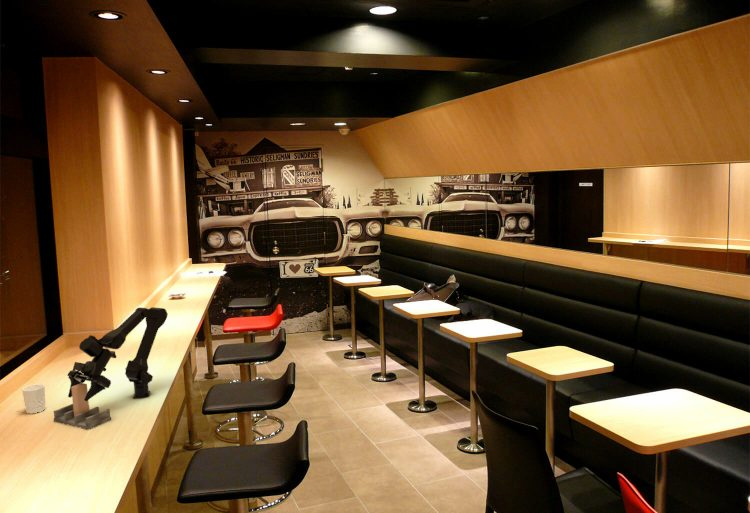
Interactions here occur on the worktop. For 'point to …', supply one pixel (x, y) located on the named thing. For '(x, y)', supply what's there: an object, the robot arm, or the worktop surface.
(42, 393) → the white cup
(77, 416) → the rack
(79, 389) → the clay bar
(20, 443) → the worktop surface
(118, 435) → the worktop surface
